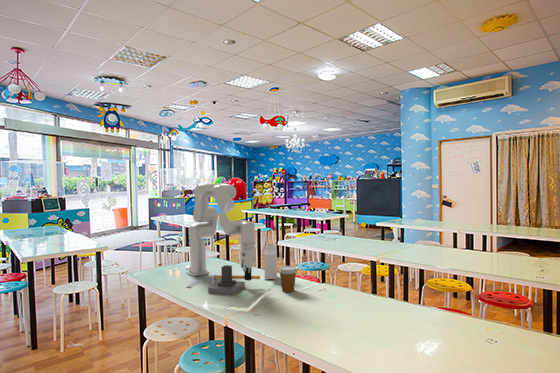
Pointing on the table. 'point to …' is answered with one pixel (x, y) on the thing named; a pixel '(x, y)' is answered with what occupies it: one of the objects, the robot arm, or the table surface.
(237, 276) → the orange rod with ball
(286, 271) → the disposable coffee cup
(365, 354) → the table surface
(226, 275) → the plug
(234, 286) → the socket
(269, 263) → the milk carton
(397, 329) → the table surface
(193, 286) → the mat
